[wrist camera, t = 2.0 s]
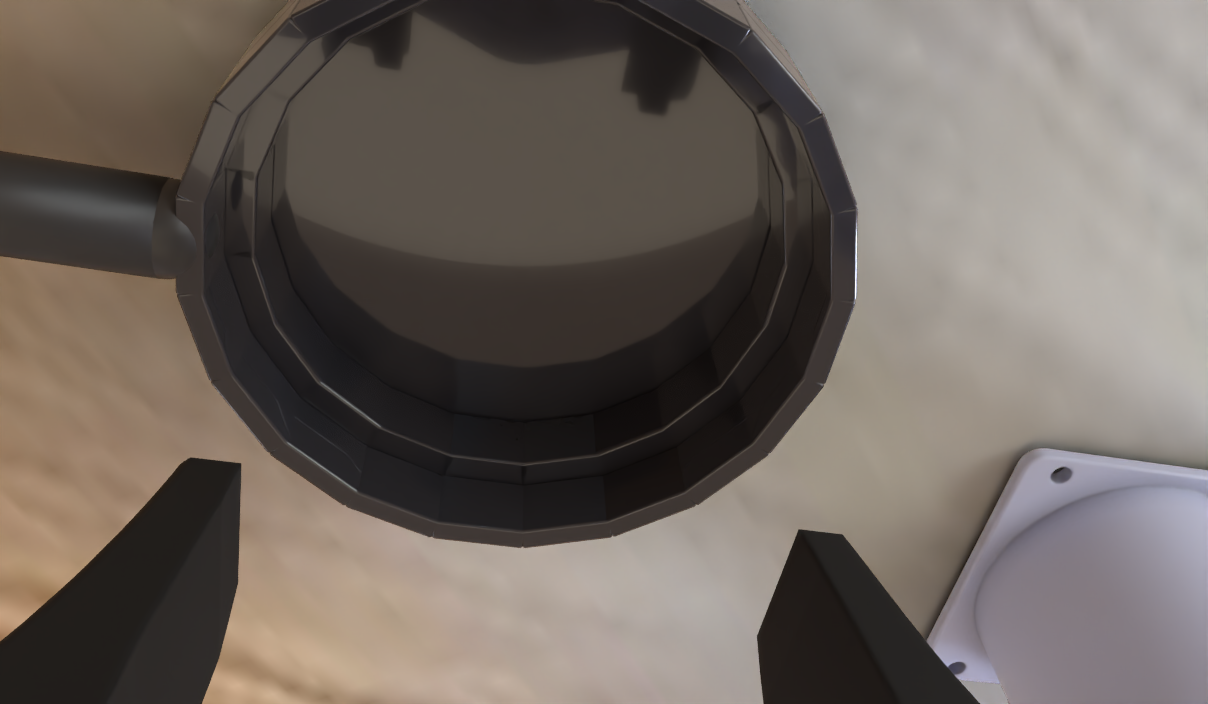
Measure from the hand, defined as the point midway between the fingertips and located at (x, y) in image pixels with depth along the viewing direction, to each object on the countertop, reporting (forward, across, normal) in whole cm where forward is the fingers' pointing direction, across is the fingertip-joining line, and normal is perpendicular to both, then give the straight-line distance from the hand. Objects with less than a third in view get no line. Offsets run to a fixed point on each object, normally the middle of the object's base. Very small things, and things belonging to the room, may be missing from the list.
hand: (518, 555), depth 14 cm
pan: (+10, 0, 0) cm, 10 cm away
